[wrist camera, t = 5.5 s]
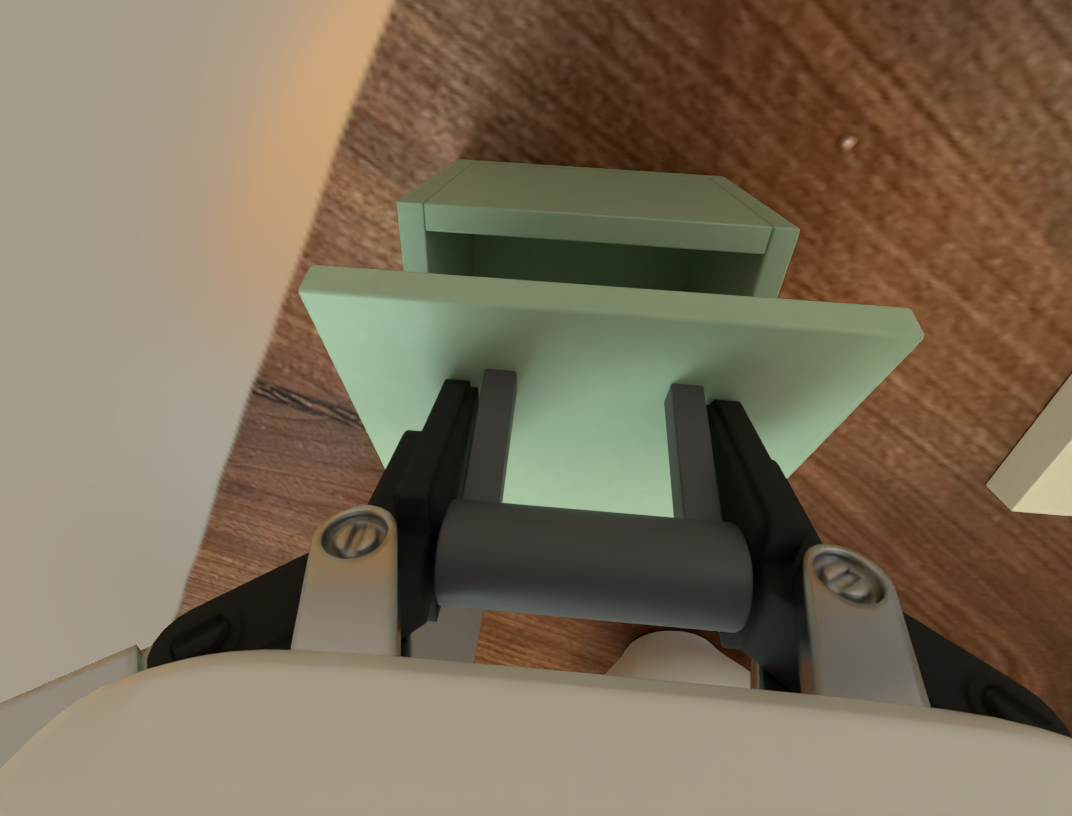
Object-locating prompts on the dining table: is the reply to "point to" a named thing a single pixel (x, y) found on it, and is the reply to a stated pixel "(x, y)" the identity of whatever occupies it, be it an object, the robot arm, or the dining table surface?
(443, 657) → the cup
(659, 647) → the bowl
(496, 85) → the dining table surface
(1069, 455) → the panel
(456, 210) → the green hinged box
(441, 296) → the lid
